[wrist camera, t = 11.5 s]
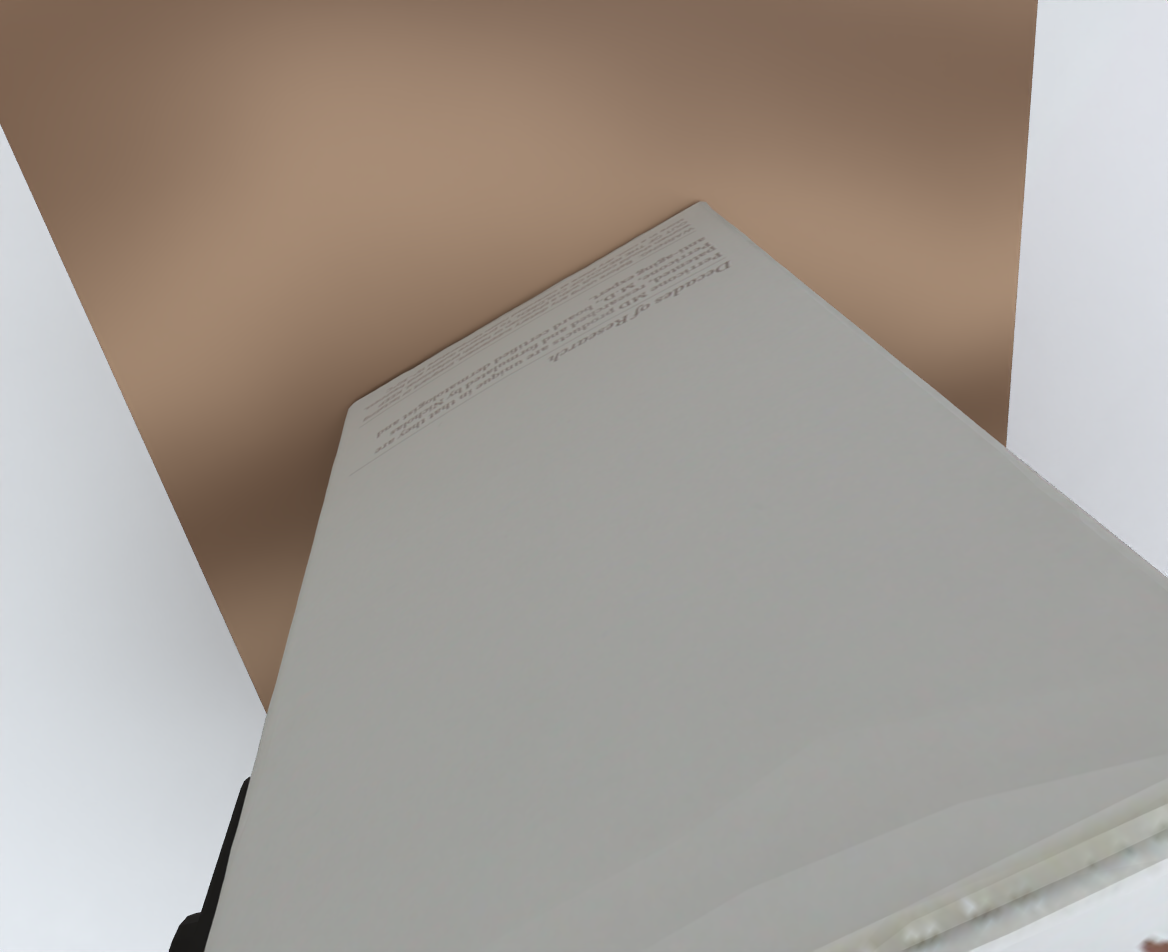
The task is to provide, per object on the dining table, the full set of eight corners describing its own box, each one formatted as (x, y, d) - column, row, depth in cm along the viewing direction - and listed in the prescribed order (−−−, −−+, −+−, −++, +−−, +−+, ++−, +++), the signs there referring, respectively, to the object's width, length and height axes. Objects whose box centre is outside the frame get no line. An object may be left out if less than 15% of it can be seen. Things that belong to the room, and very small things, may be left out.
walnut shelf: (882, 600, 27) (984, 742, 22) (366, 709, 27) (342, 881, 21) (879, -205, 18) (1058, -298, 12) (76, -57, 17) (-97, -89, 12)
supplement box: (335, 400, 16) (24, 1341, 5) (708, 187, 15) (1457, 716, 4) (540, 672, 19) (649, 1594, 8) (854, 513, 18) (1475, 1302, 7)
